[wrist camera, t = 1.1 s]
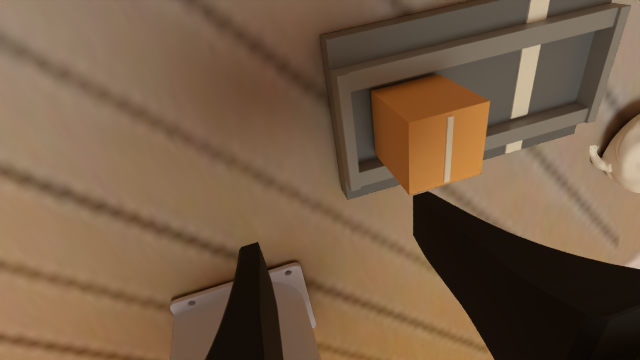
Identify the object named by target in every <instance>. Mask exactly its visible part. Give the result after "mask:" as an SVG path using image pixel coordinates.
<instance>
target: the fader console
mask: <svg viewBox="0 0 640 360" xmlns="http://www.w3.org/2000/svg"><path fill="white" fill-rule="evenodd" d="M611 1H612V0H474V1H470V2H465V3H461V4H456V5H452V6H448V7H443V8H439V9H434V10H430V11H425V12H421V13H417V14H412V15H408V16H403V17H399V18H394V19H390V20H386V21H381V22H377V23H372V24H368V25H363V26H359V27H355V28H350V29H346V30H341V31H337V32H332V33H328V34H324V35H319V36H320V42H321V49H322V56H323V63H324V70H325V77H326V84H327V91H328V98H329V104H330V111H331V118H332V125H333V132H334V139H335V146H336V153H337V160H338V167H339V173H340V180H341V187H342V191H343V193H344V194H345V196H346V198H347V200H349V199H352V198H356V197H359V196H362V195H366V194H369V193H373V192H376V191H380V190H383V189H386V188H390V187H393V186H397V185H400V183H399V182H398V181H397V180H396V178H395V177H394V176H393V175H392V174H391V172H390V171H389V170H388V169H387V168H386V166H385V165H384V164H383V163H382V162H381V161H380V159H379V158H378V157H377V156H376V155H375V142H374V128H373V115H372V101H371V91H372V90H376V89H380V88H384V87H388V86H392V85H396V84H400V83H404V82H408V81H412V80H416V79H420V78H424V77H428V76H432V75H436V74H440V75H442V76H444V77H446V78H448V79H450V80H451V81H453V82H455V83H457V84H459V85H461V86H463V87H465V88H467V89H469V90H470V91H472V92H474V93H476V94H478V95H480V96H482V97H484V98H486V99H488V100H489V101H490V107H489V115H488V123H487V131H486V138H485V146H484V154H483V160H485V159H489V158H492V157H496V156H499V155H503V154H506V153H509V152H513V151H516V150H520V149H523V148H526V147H530V146H533V145H537V144H540V143H544V142H547V141H550V140H554V139H557V138H561V137H564V136H567V135H571V134H574V132H575V128H576V125H577V124H580V123H583V122H586V123H590V122H593V121H595V119H596V116H597V113H598V110H599V106H600V103H601V100H602V97H603V94H604V91H605V87H606V84H607V81H608V78H609V75H610V71H611V68H612V65H613V62H614V59H615V55H616V52H617V49H618V46H619V43H620V40H621V36H622V33H623V30H624V27H625V24H626V20H627V17H628V14H629V11H630V8H631V5H624V4H616V3H611Z"/></svg>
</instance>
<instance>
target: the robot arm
mask: <svg viewBox="0 0 640 360" xmlns="http://www.w3.org/2000/svg"><path fill="white" fill-rule="evenodd" d="M413 236H414V237H415V239H416V241H417V243H418V245H419V247H420V248H421V250H422V252H423V254H424V255H425V257H426V258H427V260H428V261H429V263H430V264H431V265H432V267H433V268H434V269H435V271H436V272H437V273H438V275H439V276H440V277H441V279H442V280H443V281H444V283H445V284H446V285H447V287H448V288H449V289H450V291H451V292H452V293H453V295H454V296H455V297H456V299H457V300H458V301H459V303H460V304H461V305H462V307H463V308H464V310H465V311H466V313H467V314H468V316H469V317H470V319H471V321H472V322H473V324H474V326H475V327H476V329H477V331H478V332H479V334H480V335H481V337H482V339H483V341H484V342H485V344H486V346H487V347H488V349H489V351H490V353H491V354H492V356H493V358H494V360H640V269H636V268H630V267H625V266H619V265H614V264H610V263H605V262H601V261H597V260H593V259H588V258H584V257H581V256H577V255H573V254H570V253H566V252H563V251H560V250H557V249H553V248H550V247H547V246H544V245H541V244H538V243H535V242H533V241H530V240H527V239H525V238H522V237H519V236H517V235H514V234H512V233H509V232H507V231H505V230H503V229H500V228H498V227H496V226H494V225H492V224H489V223H487V222H485V221H483V220H481V219H479V218H477V217H475V216H473V215H471V214H469V213H467V212H466V211H464V210H462V209H460V208H458V207H456V206H454V205H453V204H451V203H449V202H447V201H445V200H443V199H442V198H440V197H438V196H436V195H434V194H432V193H430V192H428V191H427V192H424V193H420V194H417V195H414V196H413ZM288 270H290V271H288ZM286 271H288V272H286ZM170 310H171V311H172V313H173V315H174V317H173V329H172V340H171V352H170V360H321V357H320V354H319V350H318V346H317V343H316V339H315V336H314V332H313V329H314V328H315V327H316V322H315V318H314V314H313V311H312V307H311V303H310V299H309V296H308V292H307V288H306V285H305V281H304V277H303V273H302V270H301V266H300V264H299V263H291V264H287V265H284V266H281V267H278V268H275V269H271V270H268V269H267V266H266V263H265V260H264V257H263V254H262V252H261V249H260V246H259V243H258V242H256V243H253V244H250V245H246V246H243V247H241V248H240V250H239V256H238V263H237V268H236V272H235V277H234V281H233V282H230V283H226V284H223V285H220V286H217V287H213V288H210V289H207V290H204V291H201V292H197V293H194V294H191V295H188V296H185V297H181V298H178V299H175V300H173V301H172V302H171V303H170Z"/></svg>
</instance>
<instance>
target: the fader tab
mask: <svg viewBox="0 0 640 360" xmlns="http://www.w3.org/2000/svg"><path fill="white" fill-rule="evenodd" d="M371 101H372V115H373V128H374V142H375V155H376V156H377V157H378V158H379V159H380V161H381V162H382V163H383V164H384V165H385V166H386V168H387V169H388V170H389V171H390V172H391V174H392V175H393V176H394V177H395V178H396V180H397V181H398V182H399V183H400V184H401V186H402V187H403V188H404V189H405V190H406V192H407V193H408V194H409V195H411V194H415V193H418V192H421V191H425V190H428V189H432V188H435V187H438V186H442V185H445V184H448V183H452V182H455V181H458V180H462V179H465V178H468V177H472V176H475V175H478V174H481V170H482V162H483V154H484V146H485V138H486V131H487V123H488V115H489V107H490V101H489V100H488V99H486V98H484V97H482V96H480V95H478V94H476V93H474V92H472V91H470V90H469V89H467V88H465V87H463V86H461V85H459V84H457V83H455V82H453V81H451V80H450V79H448V78H446V77H444V76H442V75H440V74H436V75H432V76H428V77H424V78H420V79H416V80H412V81H408V82H404V83H400V84H396V85H392V86H388V87H384V88H380V89H376V90H372V91H371Z"/></svg>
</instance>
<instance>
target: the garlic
mask: <svg viewBox="0 0 640 360" xmlns="http://www.w3.org/2000/svg"><path fill="white" fill-rule="evenodd" d="M598 148H599V147H596V145H595V146H590V151H589V152H590V158H591V161H592V163H593V165H594V166H596V167H597V168H599V169H601V170H603V171H606V173H607V175H608V176H609V178H611V179H612V180H614V181H616V182H618V183H619V184H620V185H621V186H622V187H624V188H625V189H627V190H629V191H632V192H636V193H640V114H639V115H637V116H636V117H634V118H633V119H632V120H630V121H629V122H628V123H627V124H626V125H625V126H624V127H623V128H622V129H621V130H620V131H619V132H618V133H617V134H616V135H615V137H614V138H613V139H612V140H611V142H610V143H609V145H608V147H607V148H606V150H605V152H604V154H603V156H602V158H600V157H599V156H598V154H597V149H598Z"/></svg>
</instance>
